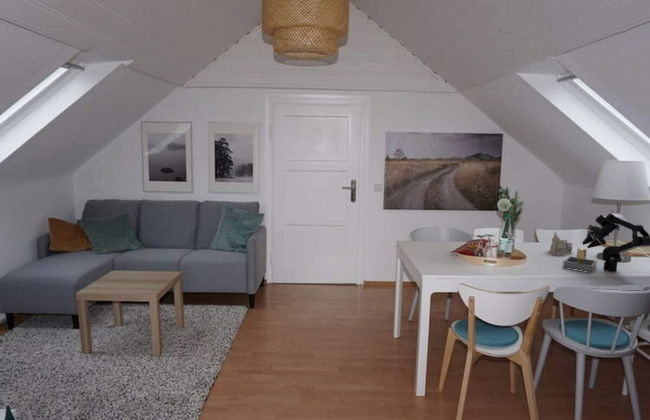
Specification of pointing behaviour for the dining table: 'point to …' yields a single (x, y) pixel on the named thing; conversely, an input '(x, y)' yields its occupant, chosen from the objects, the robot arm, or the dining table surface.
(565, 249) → the ceramic cottage
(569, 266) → the charcoal bin
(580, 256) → the brass canister
